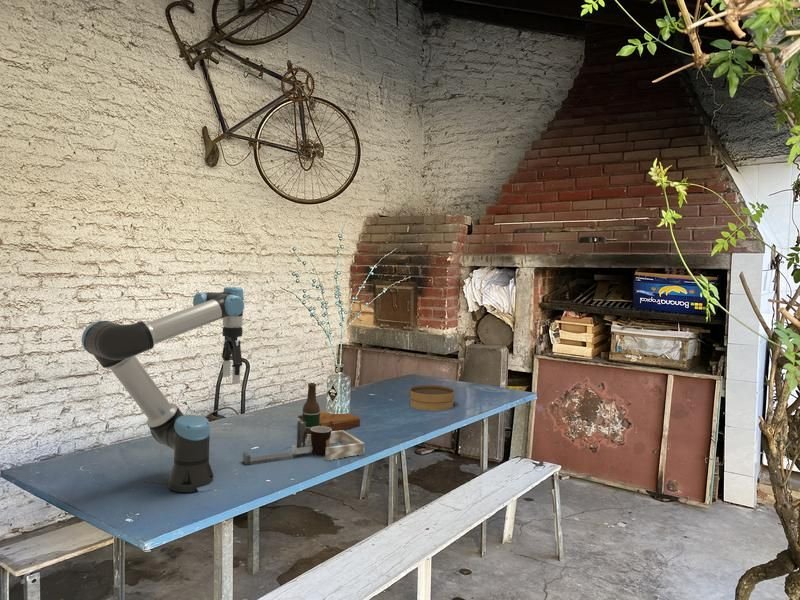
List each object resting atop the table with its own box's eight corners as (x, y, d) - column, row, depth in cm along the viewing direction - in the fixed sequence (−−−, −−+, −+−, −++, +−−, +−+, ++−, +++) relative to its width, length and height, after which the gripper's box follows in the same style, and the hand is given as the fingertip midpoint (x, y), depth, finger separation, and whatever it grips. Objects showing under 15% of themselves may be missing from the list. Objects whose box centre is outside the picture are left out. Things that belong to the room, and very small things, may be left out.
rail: (246, 465, 218) (246, 456, 218) (242, 461, 222) (242, 452, 222) (292, 458, 228) (292, 449, 228) (288, 455, 231) (288, 446, 231)
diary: (321, 437, 259) (322, 424, 259) (297, 427, 272) (298, 415, 272) (359, 428, 276) (360, 416, 275) (335, 420, 289) (335, 408, 288)
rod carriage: (298, 456, 226) (299, 425, 225) (289, 449, 235) (290, 419, 234) (328, 452, 233) (329, 422, 232) (318, 445, 241) (319, 416, 241)
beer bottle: (310, 432, 264) (312, 381, 263) (322, 435, 260) (324, 383, 258) (298, 435, 258) (299, 383, 257) (310, 439, 254) (312, 386, 252)
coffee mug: (318, 458, 230) (319, 433, 229) (304, 452, 236) (306, 428, 235) (339, 452, 238) (341, 428, 238) (326, 446, 244) (328, 423, 243)
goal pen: (326, 460, 227) (327, 448, 227) (306, 445, 244) (307, 434, 244) (364, 455, 236) (364, 443, 236) (342, 441, 253) (343, 430, 253)
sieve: (399, 408, 317) (400, 388, 316) (427, 401, 336) (428, 382, 335) (435, 417, 301) (436, 396, 300) (462, 410, 320) (463, 390, 319)
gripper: (251, 329, 216) (250, 385, 217) (233, 322, 237) (232, 373, 238) (231, 330, 212) (230, 386, 213) (215, 323, 233) (213, 374, 234)
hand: (231, 379), depth 225 cm, fingers open, 13 cm apart
